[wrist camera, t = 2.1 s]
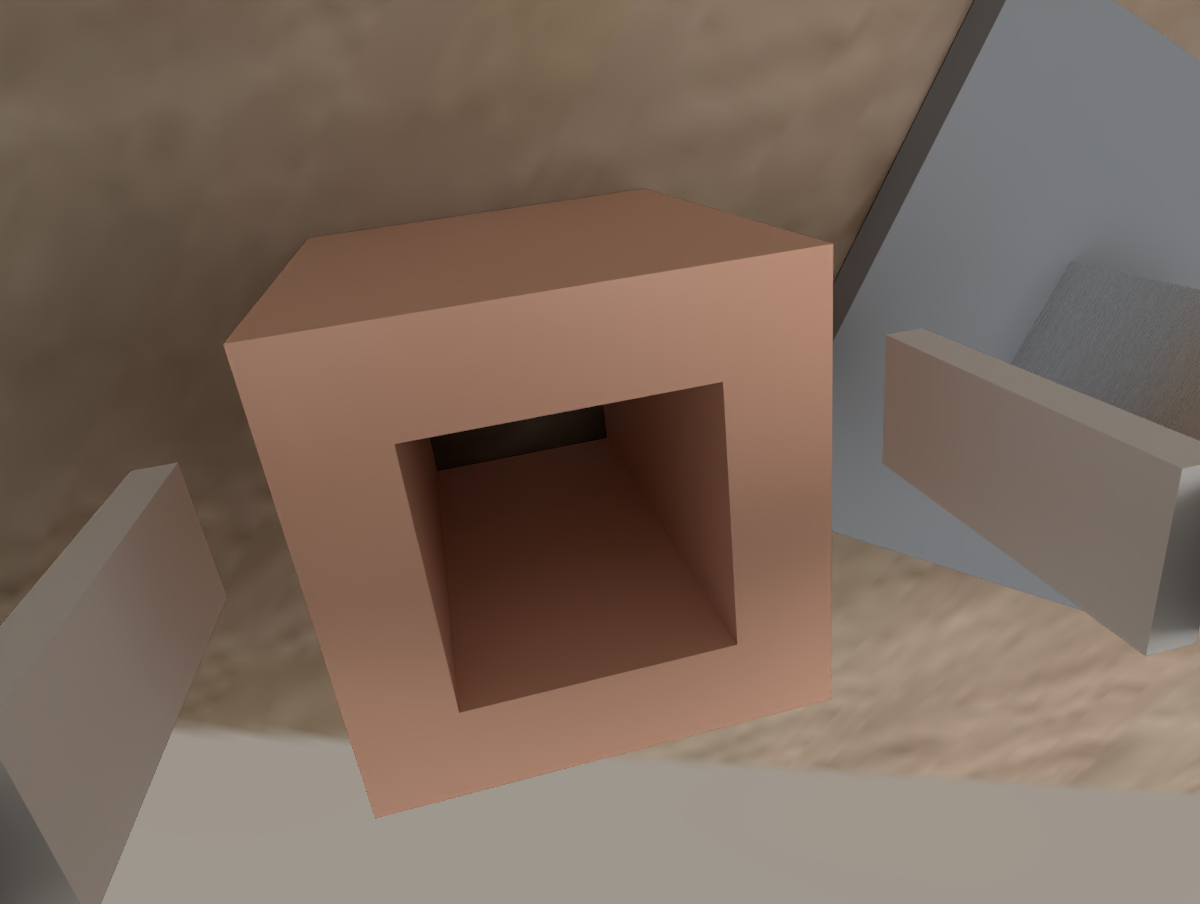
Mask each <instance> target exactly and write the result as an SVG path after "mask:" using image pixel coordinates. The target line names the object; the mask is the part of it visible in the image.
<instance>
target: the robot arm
mask: <svg viewBox="0 0 1200 904" xmlns="http://www.w3.org/2000/svg"><path fill="white" fill-rule="evenodd" d="M882 463H883V464H884V465H885V466H887V467H888V468H890V469H891V470H892V471H894V472H895V473H896V474H898V475H899V476H900V477H902V478H903V479H905V480H906V481H907V482H909V483H910V484H911V485H913V486H914V487H915V488H917V489H918V490H920V491H921V492H922V493H924V494H925V495H926V496H928V497H929V498H930V499H932V500H933V501H935V502H936V503H937V504H939V505H940V506H941V507H943V508H944V509H946V510H947V511H948V512H950V513H951V514H952V515H954V516H955V517H956V518H958V519H959V520H961V521H962V522H963V523H965V524H966V525H967V526H969V527H970V528H971V529H973V530H974V531H976V532H977V533H978V534H980V535H981V536H982V537H984V538H985V539H986V540H988V541H989V542H991V543H992V544H993V545H995V546H996V547H997V548H999V549H1000V550H1001V551H1003V552H1004V553H1006V554H1007V555H1008V556H1010V557H1011V558H1012V559H1014V560H1015V561H1016V562H1018V563H1019V564H1021V565H1022V566H1023V567H1025V568H1026V569H1027V570H1029V571H1030V572H1031V573H1033V574H1034V575H1036V576H1037V577H1038V578H1040V579H1041V580H1042V581H1044V582H1045V583H1047V584H1048V585H1049V586H1051V587H1052V588H1053V589H1055V590H1056V591H1057V592H1059V593H1060V594H1062V595H1063V596H1064V597H1066V598H1067V599H1068V600H1070V601H1071V602H1072V603H1074V604H1075V605H1077V606H1078V607H1079V608H1081V609H1082V610H1083V611H1085V612H1086V613H1087V614H1089V615H1090V616H1092V617H1093V618H1094V619H1096V620H1097V621H1098V622H1100V623H1101V624H1102V625H1104V626H1105V627H1107V628H1108V629H1109V630H1111V631H1112V632H1113V633H1115V634H1116V635H1117V636H1119V637H1120V638H1122V639H1123V640H1124V641H1126V642H1127V643H1128V644H1130V645H1131V646H1133V647H1134V648H1135V649H1137V650H1138V651H1139V652H1141V653H1142V654H1143V655H1145V656H1148V655H1152V654H1156V653H1160V652H1164V651H1168V650H1172V649H1176V648H1179V647H1183V646H1187V645H1191V644H1195V643H1196V640H1197V635H1198V631H1199V627H1200V441H1199V440H1196V439H1194V438H1191V437H1189V436H1186V435H1184V434H1181V433H1179V432H1176V431H1174V430H1171V429H1169V428H1166V427H1164V426H1162V425H1159V424H1157V423H1154V422H1152V421H1149V420H1147V419H1144V418H1142V417H1139V416H1137V415H1134V414H1132V413H1129V412H1127V411H1125V410H1122V409H1120V408H1117V407H1115V406H1112V405H1110V404H1107V403H1105V402H1102V401H1100V400H1097V399H1095V398H1092V397H1090V396H1088V395H1085V394H1083V393H1080V392H1078V391H1075V390H1073V389H1070V388H1068V387H1065V386H1063V385H1060V384H1058V383H1055V382H1053V381H1051V380H1048V379H1046V378H1043V377H1041V376H1038V375H1036V374H1033V373H1031V372H1028V371H1026V370H1023V369H1021V368H1018V367H1016V366H1014V365H1011V364H1009V363H1006V362H1004V361H1001V360H999V359H996V358H994V357H991V356H989V355H986V354H984V353H981V352H979V351H977V350H974V349H972V348H969V347H967V346H964V345H962V344H959V343H957V342H954V341H952V340H949V339H947V338H944V337H942V336H940V335H937V334H935V333H932V332H930V331H927V330H925V329H922V328H921V329H916V330H910V331H905V332H899V333H894V334H888V335H886V351H885V386H884V421H883V456H882ZM226 599H227V596H226V593H225V591H224V588H223V585H222V582H221V580H220V577H219V574H218V571H217V569H216V566H215V563H214V560H213V558H212V555H211V552H210V549H209V547H208V544H207V541H206V538H205V535H204V533H203V530H202V527H201V524H200V522H199V519H198V516H197V513H196V511H195V508H194V505H193V502H192V500H191V497H190V494H189V491H188V489H187V486H186V483H185V480H184V478H183V475H182V472H181V469H180V467H179V464H178V462H177V463H172V464H166V465H161V466H155V467H150V468H144V469H138V470H133V471H130V472H129V473H128V475H127V476H126V477H125V478H124V479H123V481H122V482H121V483H120V484H119V485H118V486H117V488H116V489H115V490H114V491H113V492H112V494H111V495H110V496H109V497H108V498H107V500H106V501H105V502H104V503H103V504H102V505H101V507H100V508H99V509H98V510H97V511H96V513H95V514H94V515H93V516H92V517H91V519H90V520H89V521H88V522H87V523H86V524H85V526H84V527H83V528H82V529H81V530H80V532H79V533H78V534H77V535H76V536H75V538H74V539H73V540H72V541H71V542H70V544H69V545H68V546H67V547H66V548H65V549H64V551H63V552H62V553H61V554H60V555H59V557H58V558H57V559H56V560H55V561H54V563H53V564H52V565H51V566H50V567H49V568H48V570H47V571H46V572H45V573H44V574H43V576H42V577H41V578H40V579H39V580H38V582H37V583H36V584H35V585H34V586H33V588H32V589H31V590H30V591H29V592H28V593H27V595H26V596H25V597H24V598H23V599H22V601H21V602H20V603H19V604H18V605H17V607H16V608H15V609H14V610H13V611H12V612H11V614H10V615H9V616H8V617H7V618H6V620H5V621H4V622H3V623H2V624H1V626H0V904H101V902H102V900H103V898H104V895H105V893H106V890H107V888H108V885H109V883H110V881H111V878H112V876H113V873H114V871H115V868H116V866H117V863H118V861H119V859H120V856H121V853H122V851H123V849H124V847H125V844H126V842H127V839H128V837H129V834H130V832H131V830H132V827H133V825H134V822H135V820H136V817H137V815H138V812H139V810H140V808H141V805H142V802H143V800H144V798H145V795H146V793H147V791H148V788H149V786H150V783H151V781H152V778H153V776H154V774H155V771H156V769H157V766H158V764H159V761H160V759H161V757H162V754H163V752H164V749H165V747H166V744H167V742H168V740H169V737H170V735H171V732H172V730H173V727H174V725H175V723H176V720H177V718H178V715H179V713H180V710H181V708H182V706H183V703H184V701H185V698H186V696H187V693H188V691H189V689H190V686H191V684H192V681H193V679H194V676H195V674H196V672H197V669H198V667H199V664H200V662H201V659H202V657H203V655H204V652H205V650H206V647H207V645H208V642H209V640H210V638H211V635H212V633H213V630H214V628H215V625H216V623H217V621H218V618H219V616H220V613H221V611H222V608H223V606H224V603H225V601H226Z"/></svg>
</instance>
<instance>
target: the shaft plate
mask: <svg viewBox="0 0 1200 904" xmlns="http://www.w3.org/2000/svg"><path fill="white" fill-rule="evenodd" d="M1070 262H1074V263H1078V264H1083V265H1088V266H1092V267H1097V268H1102V269H1106V270H1111V271H1116V272H1120V273H1125V274H1129V275H1134V276H1139V277H1143V278H1148V279H1153V280H1157V281H1162V282H1167V283H1171V284H1176V285H1180V286H1185V287H1190V288H1194V289H1199V290H1200V61H1199V60H1198V59H1196V58H1195V57H1194V56H1192V55H1191V54H1189V53H1188V52H1186V51H1185V50H1184V49H1182V48H1181V47H1179V46H1178V45H1177V44H1175V43H1174V42H1172V41H1171V40H1170V39H1168V38H1167V37H1165V36H1164V35H1162V34H1161V33H1160V32H1158V31H1157V30H1155V29H1154V28H1153V27H1151V26H1150V25H1148V24H1147V23H1146V22H1144V21H1143V20H1141V19H1140V18H1138V17H1137V16H1136V15H1134V14H1133V13H1131V12H1130V11H1129V10H1127V9H1126V8H1124V7H1123V6H1122V5H1120V4H1119V3H1117V2H1116V1H1114V0H974V2H973V4H972V6H971V8H970V10H969V12H968V14H967V16H966V18H965V20H964V22H963V24H962V26H961V28H960V30H959V32H958V34H957V36H956V38H955V40H954V42H953V45H952V47H951V49H950V51H949V53H948V55H947V57H946V59H945V61H944V63H943V65H942V67H941V69H940V71H939V73H938V75H937V77H936V79H935V81H934V83H933V85H932V87H931V89H930V91H929V93H928V95H927V97H926V99H925V101H924V103H923V105H922V107H921V109H920V111H919V113H918V115H917V117H916V119H915V121H914V123H913V125H912V127H911V129H910V131H909V133H908V135H907V137H906V139H905V141H904V143H903V145H902V147H901V149H900V151H899V153H898V155H897V157H896V159H895V161H894V163H893V165H892V167H891V169H890V171H889V173H888V175H887V177H886V179H885V181H884V183H883V185H882V187H881V189H880V191H879V194H878V196H877V198H876V200H875V202H874V204H873V206H872V208H871V210H870V212H869V214H868V216H867V218H866V220H865V222H864V224H863V226H862V228H861V230H860V232H859V234H858V236H857V238H856V240H855V242H854V244H853V246H852V248H851V250H850V252H849V254H848V256H847V258H846V260H845V262H844V264H843V266H842V268H841V270H840V272H839V274H838V276H837V278H836V280H835V282H834V284H833V374H832V531H833V532H836V533H839V534H842V535H845V536H848V537H852V538H855V539H858V540H861V541H864V542H867V543H871V544H874V545H877V546H880V547H883V548H886V549H890V550H893V551H896V552H899V553H902V554H905V555H909V556H912V557H915V558H918V559H921V560H924V561H928V562H931V563H934V564H937V565H940V566H943V567H947V568H950V569H953V570H956V571H959V572H962V573H965V574H969V575H972V576H975V577H978V578H981V579H984V580H988V581H991V582H994V583H997V584H1000V585H1003V586H1007V587H1010V588H1013V589H1016V590H1019V591H1022V592H1026V593H1029V594H1032V595H1035V596H1038V597H1041V598H1045V599H1048V600H1051V601H1054V602H1057V603H1060V604H1064V605H1067V606H1070V607H1073V608H1076V609H1079V610H1082V609H1081V608H1079V607H1078V606H1077V605H1075V604H1074V603H1072V602H1071V601H1070V600H1068V599H1067V598H1066V597H1064V596H1063V595H1062V594H1060V593H1059V592H1057V591H1056V590H1055V589H1053V588H1052V587H1051V586H1049V585H1048V584H1047V583H1045V582H1044V581H1042V580H1041V579H1040V578H1038V577H1037V576H1036V575H1034V574H1033V573H1031V572H1030V571H1029V570H1027V569H1026V568H1025V567H1023V566H1022V565H1021V564H1019V563H1018V562H1016V561H1015V560H1014V559H1012V558H1011V557H1010V556H1008V555H1007V554H1006V553H1004V552H1003V551H1001V550H1000V549H999V548H997V547H996V546H995V545H993V544H992V543H991V542H989V541H988V540H986V539H985V538H984V537H982V536H981V535H980V534H978V533H977V532H976V531H974V530H973V529H971V528H970V527H969V526H967V525H966V524H965V523H963V522H962V521H961V520H959V519H958V518H956V517H955V516H954V515H952V514H951V513H950V512H948V511H947V510H946V509H944V508H943V507H941V506H940V505H939V504H937V503H936V502H935V501H933V500H932V499H930V498H929V497H928V496H926V495H925V494H924V493H922V492H921V491H920V490H918V489H917V488H915V487H914V486H913V485H911V484H910V483H909V482H907V481H906V480H905V479H903V478H902V477H900V476H899V475H898V474H896V473H895V472H894V471H892V470H891V469H890V468H888V467H887V466H885V465H884V464H883V463H882V456H883V421H884V386H885V351H886V335H888V334H894V333H899V332H905V331H910V330H916V329H921V328H922V329H925V330H927V331H930V332H932V333H935V334H937V335H940V336H942V337H944V338H947V339H949V340H952V341H954V342H957V343H959V344H962V345H964V346H967V347H969V348H972V349H974V350H977V351H979V352H981V353H984V354H986V355H989V356H991V357H994V358H996V359H999V360H1001V361H1004V362H1006V363H1009V364H1011V363H1012V361H1013V360H1014V358H1015V356H1016V354H1017V353H1018V351H1019V349H1020V347H1021V346H1022V344H1023V342H1024V341H1025V339H1026V337H1027V335H1028V334H1029V332H1030V330H1031V328H1032V327H1033V325H1034V323H1035V322H1036V320H1037V318H1038V316H1039V315H1040V313H1041V311H1042V309H1043V308H1044V306H1045V304H1046V303H1047V301H1048V299H1049V297H1050V296H1051V294H1052V292H1053V290H1054V289H1055V287H1056V285H1057V284H1058V282H1059V280H1060V278H1061V277H1062V275H1063V273H1064V271H1065V270H1066V268H1067V266H1068V265H1069V263H1070Z"/></svg>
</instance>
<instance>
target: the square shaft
mask: <svg viewBox="0 0 1200 904" xmlns="http://www.w3.org/2000/svg"><path fill="white" fill-rule="evenodd" d="M1011 365H1014V366H1016V367H1018V368H1021V369H1023V370H1026V371H1028V372H1031V373H1033V374H1036V375H1038V376H1041V377H1043V378H1046V379H1048V380H1051V381H1053V382H1055V383H1058V384H1060V385H1063V386H1065V387H1068V388H1070V389H1073V390H1075V391H1078V392H1080V393H1083V394H1085V395H1088V396H1090V397H1092V398H1095V399H1097V400H1100V401H1102V402H1105V403H1107V404H1110V405H1112V406H1115V407H1117V408H1120V409H1122V410H1125V411H1127V412H1129V413H1132V414H1134V415H1137V416H1139V417H1142V418H1144V419H1147V420H1149V421H1152V422H1154V423H1157V424H1159V425H1162V426H1164V427H1166V428H1169V429H1171V430H1174V431H1176V432H1179V433H1181V434H1184V435H1186V436H1189V437H1191V438H1194V439H1196V440H1199V441H1200V290H1199V289H1194V288H1190V287H1185V286H1180V285H1176V284H1171V283H1167V282H1162V281H1157V280H1153V279H1148V278H1143V277H1139V276H1134V275H1129V274H1125V273H1120V272H1116V271H1111V270H1106V269H1102V268H1097V267H1092V266H1088V265H1083V264H1078V263H1074V262H1070V263H1069V265H1068V266H1067V268H1066V270H1065V271H1064V273H1063V275H1062V277H1061V278H1060V280H1059V282H1058V284H1057V285H1056V287H1055V289H1054V290H1053V292H1052V294H1051V296H1050V297H1049V299H1048V301H1047V303H1046V304H1045V306H1044V308H1043V309H1042V311H1041V313H1040V315H1039V316H1038V318H1037V320H1036V322H1035V323H1034V325H1033V327H1032V328H1031V330H1030V332H1029V334H1028V335H1027V337H1026V339H1025V341H1024V342H1023V344H1022V346H1021V347H1020V349H1019V351H1018V353H1017V354H1016V356H1015V358H1014V360H1013V361H1012V363H1011Z"/></svg>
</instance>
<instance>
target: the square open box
mask: <svg viewBox="0 0 1200 904" xmlns="http://www.w3.org/2000/svg"><path fill="white" fill-rule="evenodd" d="M223 345H224V348H225V352H226V355H227V358H228V361H229V364H230V367H231V370H232V373H233V376H234V380H235V383H236V386H237V389H238V392H239V395H240V398H241V401H242V405H243V408H244V411H245V414H246V417H247V420H248V423H249V426H250V430H251V433H252V436H253V439H254V442H255V445H256V448H257V451H258V455H259V458H260V461H261V464H262V467H263V470H264V473H265V476H266V479H267V483H268V486H269V489H270V492H271V495H272V498H273V501H274V504H275V508H276V511H277V514H278V517H279V520H280V523H281V526H282V529H283V533H284V536H285V539H286V542H287V545H288V548H289V551H290V554H291V557H292V561H293V564H294V567H295V570H296V573H297V576H298V579H299V582H300V586H301V589H302V592H303V595H304V598H305V601H306V604H307V607H308V611H309V614H310V617H311V620H312V623H313V626H314V629H315V632H316V636H317V639H318V642H319V645H320V648H321V651H322V654H323V657H324V660H325V664H326V667H327V670H328V673H329V676H330V679H331V682H332V685H333V689H334V692H335V695H336V698H337V701H338V704H339V707H340V710H341V714H342V717H343V720H344V723H345V726H346V729H347V732H348V735H349V739H350V742H351V745H352V748H353V751H354V754H355V757H356V760H357V763H358V767H359V770H360V773H361V776H362V779H363V782H364V785H365V788H366V792H367V795H368V798H369V801H370V804H371V807H372V810H373V813H374V816H375V818H378V817H382V816H386V815H390V814H394V813H397V812H401V811H405V810H409V809H413V808H417V807H421V806H424V805H428V804H432V803H436V802H440V801H444V800H447V799H451V798H455V797H459V796H463V795H467V794H470V793H474V792H478V791H481V790H486V789H489V788H493V787H497V786H501V785H505V784H508V783H512V782H516V781H520V780H524V779H528V778H531V777H535V776H539V775H543V774H547V773H550V772H554V771H558V770H562V769H566V768H570V767H574V766H577V765H581V764H585V763H589V762H593V761H596V760H600V759H604V758H608V757H612V756H616V755H619V754H623V753H627V752H631V751H635V750H639V749H642V748H646V747H650V746H654V745H658V744H661V743H665V742H669V741H673V740H677V739H681V738H684V737H688V736H692V735H696V734H700V733H704V732H707V731H711V730H715V729H719V728H723V727H726V726H730V725H734V724H738V723H742V722H746V721H749V720H753V719H757V718H761V717H765V716H769V715H772V714H776V713H780V712H784V711H788V710H791V709H795V708H799V707H803V706H807V705H811V704H814V703H818V702H822V701H826V700H830V699H831V556H832V374H833V244H832V243H829V242H825V241H822V240H819V239H815V238H812V237H808V236H805V235H802V234H798V233H795V232H791V231H788V230H785V229H781V228H778V227H774V226H771V225H768V224H764V223H761V222H757V221H754V220H750V219H747V218H744V217H740V216H737V215H733V214H730V213H727V212H723V211H720V210H716V209H713V208H710V207H706V206H703V205H699V204H696V203H693V202H689V201H686V200H682V199H679V198H676V197H672V196H669V195H665V194H662V193H658V192H655V191H652V190H648V189H639V190H632V191H625V192H618V193H612V194H605V195H598V196H591V197H584V198H578V199H571V200H564V201H557V202H550V203H544V204H537V205H530V206H523V207H516V208H509V209H503V210H496V211H489V212H482V213H475V214H469V215H462V216H455V217H448V218H441V219H435V220H428V221H421V222H414V223H407V224H401V225H394V226H387V227H380V228H373V229H366V230H360V231H353V232H346V233H339V234H332V235H326V236H319V237H312V238H308V239H307V241H306V242H305V243H304V244H303V246H302V247H301V248H300V249H299V251H298V252H297V253H296V254H295V256H294V257H293V258H292V259H291V261H290V262H289V263H288V264H287V265H286V267H285V268H284V269H283V270H282V272H281V273H280V274H279V275H278V277H277V278H276V279H275V280H274V282H273V283H272V284H271V285H270V287H269V288H268V289H267V290H266V292H265V293H264V294H263V295H262V297H261V298H260V299H259V300H258V301H257V303H256V304H255V305H254V306H253V308H252V309H251V310H250V311H249V313H248V314H247V315H246V316H245V318H244V319H243V320H242V321H241V323H240V324H239V325H238V326H237V328H236V329H235V330H234V331H233V333H232V334H231V335H230V336H229V337H228V339H227V340H226V341H225V342H224V344H223ZM598 405H603V409H604V418H605V426H606V434H607V438H605V439H599V440H594V441H589V442H584V443H579V444H574V445H569V446H564V447H559V448H554V449H549V450H544V451H538V452H533V453H528V454H523V455H518V456H513V457H508V458H503V459H498V460H493V461H488V462H482V463H477V464H472V465H467V466H462V467H457V468H452V469H447V470H442V471H437V468H436V463H435V459H434V454H433V450H432V445H431V441H430V437H435V436H440V435H445V434H450V433H456V432H461V431H466V430H471V429H477V428H482V427H487V426H493V425H498V424H503V423H508V422H514V421H519V420H524V419H529V418H535V417H540V416H545V415H551V414H556V413H561V412H566V411H572V410H577V409H582V408H588V407H593V406H598Z"/></svg>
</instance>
